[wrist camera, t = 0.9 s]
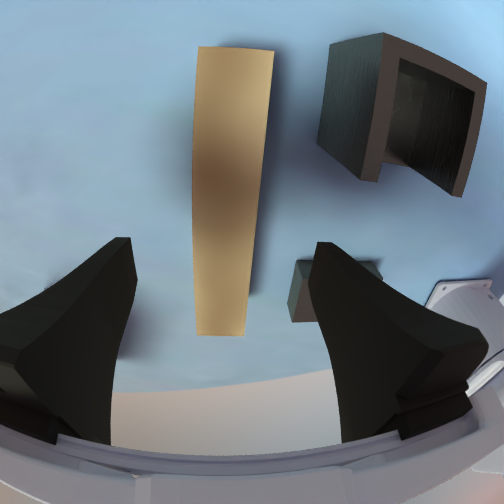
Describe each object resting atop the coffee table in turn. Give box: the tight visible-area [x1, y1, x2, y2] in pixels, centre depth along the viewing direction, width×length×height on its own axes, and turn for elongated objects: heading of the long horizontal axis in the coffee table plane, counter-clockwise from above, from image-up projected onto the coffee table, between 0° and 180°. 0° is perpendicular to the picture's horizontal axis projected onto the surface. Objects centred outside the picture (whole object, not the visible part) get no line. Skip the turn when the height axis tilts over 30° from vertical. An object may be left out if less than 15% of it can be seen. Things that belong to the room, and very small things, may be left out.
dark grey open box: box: [317, 32, 487, 198], centre depth 12 cm, size 6×6×6 cm
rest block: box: [287, 261, 383, 322], centre depth 20 cm, size 6×4×2 cm, turn 85°
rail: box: [192, 47, 274, 336], centre depth 15 cm, size 3×16×4 cm, turn 175°
